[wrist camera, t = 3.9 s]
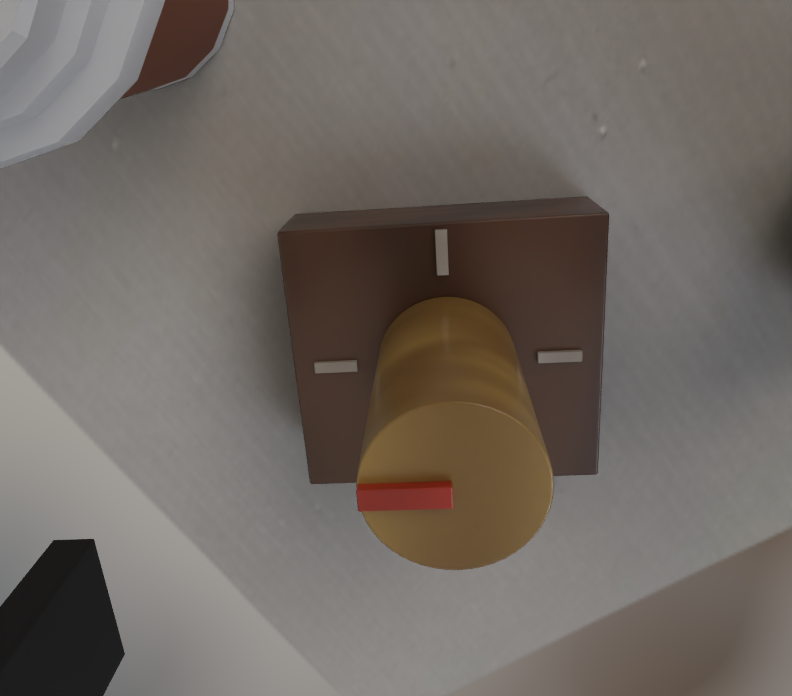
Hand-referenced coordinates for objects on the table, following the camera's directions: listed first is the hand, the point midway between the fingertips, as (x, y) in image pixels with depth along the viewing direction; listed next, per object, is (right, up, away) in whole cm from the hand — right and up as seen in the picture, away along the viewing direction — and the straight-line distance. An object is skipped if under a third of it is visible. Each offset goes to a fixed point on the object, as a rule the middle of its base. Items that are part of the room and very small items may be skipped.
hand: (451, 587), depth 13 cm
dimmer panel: (+1, +5, +13) cm, 14 cm away
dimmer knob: (+1, +4, +10) cm, 10 cm away
